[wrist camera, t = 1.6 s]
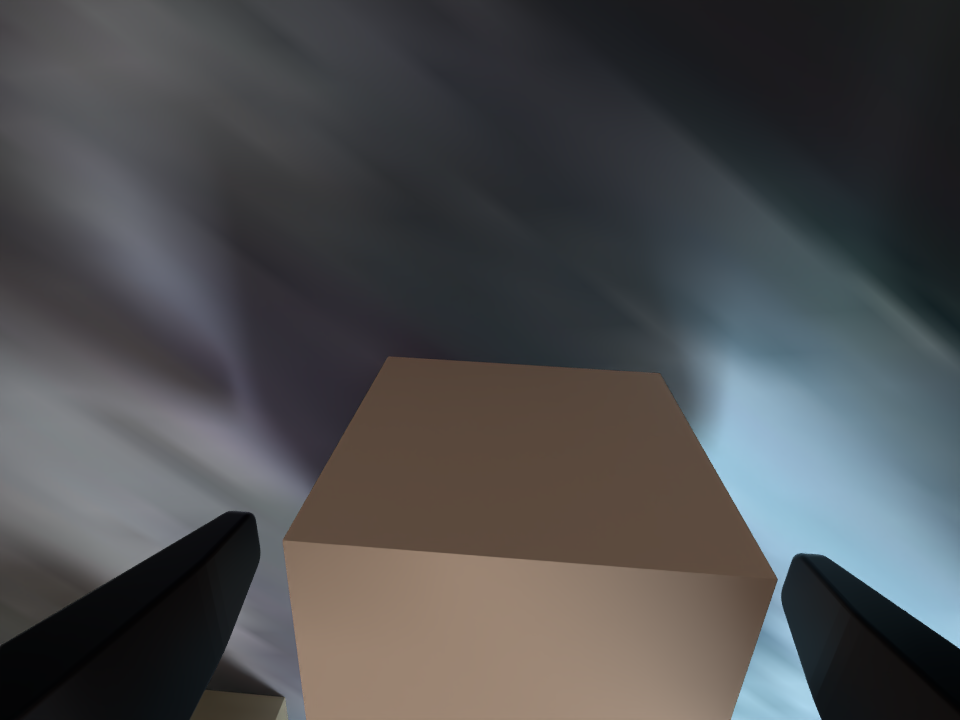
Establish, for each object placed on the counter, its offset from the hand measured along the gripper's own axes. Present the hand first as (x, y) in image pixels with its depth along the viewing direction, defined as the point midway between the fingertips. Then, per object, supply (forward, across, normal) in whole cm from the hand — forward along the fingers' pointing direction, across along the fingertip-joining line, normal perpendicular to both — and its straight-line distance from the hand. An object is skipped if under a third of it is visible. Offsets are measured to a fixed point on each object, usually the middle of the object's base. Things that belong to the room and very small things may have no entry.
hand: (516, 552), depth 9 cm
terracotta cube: (+2, 0, 0) cm, 2 cm away
